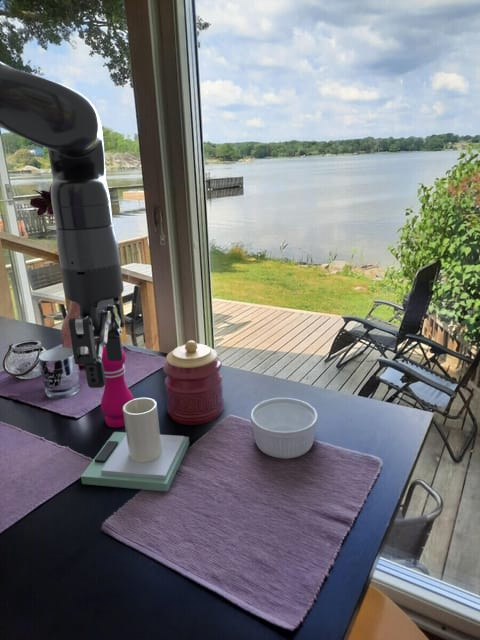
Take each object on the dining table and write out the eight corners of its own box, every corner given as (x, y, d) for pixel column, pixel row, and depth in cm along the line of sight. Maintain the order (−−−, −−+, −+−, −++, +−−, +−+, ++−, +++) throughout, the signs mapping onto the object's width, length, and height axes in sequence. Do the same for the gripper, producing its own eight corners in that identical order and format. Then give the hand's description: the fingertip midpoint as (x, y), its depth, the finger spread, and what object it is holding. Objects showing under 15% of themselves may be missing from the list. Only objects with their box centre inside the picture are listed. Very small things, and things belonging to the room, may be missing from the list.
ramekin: (269, 419, 98) (269, 391, 95) (326, 435, 91) (327, 405, 89) (239, 452, 87) (238, 421, 85) (302, 472, 81) (302, 440, 78)
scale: (82, 486, 79) (79, 472, 78) (115, 440, 92) (113, 428, 91) (167, 494, 77) (166, 479, 76) (189, 445, 90) (188, 433, 89)
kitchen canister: (187, 393, 110) (181, 327, 104) (233, 403, 105) (230, 334, 99) (156, 420, 99) (148, 347, 93) (206, 432, 94) (201, 356, 88)
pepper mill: (122, 410, 104) (111, 330, 97) (143, 419, 100) (133, 337, 93) (97, 424, 98) (83, 341, 92) (118, 434, 94) (105, 348, 88)
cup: (124, 461, 81) (117, 413, 78) (136, 441, 86) (130, 396, 83) (155, 463, 80) (149, 415, 76) (166, 444, 85) (161, 398, 82)
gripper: (82, 251, 65) (97, 353, 70) (37, 274, 51) (61, 397, 57) (132, 250, 64) (144, 352, 70) (101, 272, 51) (118, 396, 56)
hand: (107, 372), depth 63 cm, fingers open, 8 cm apart
